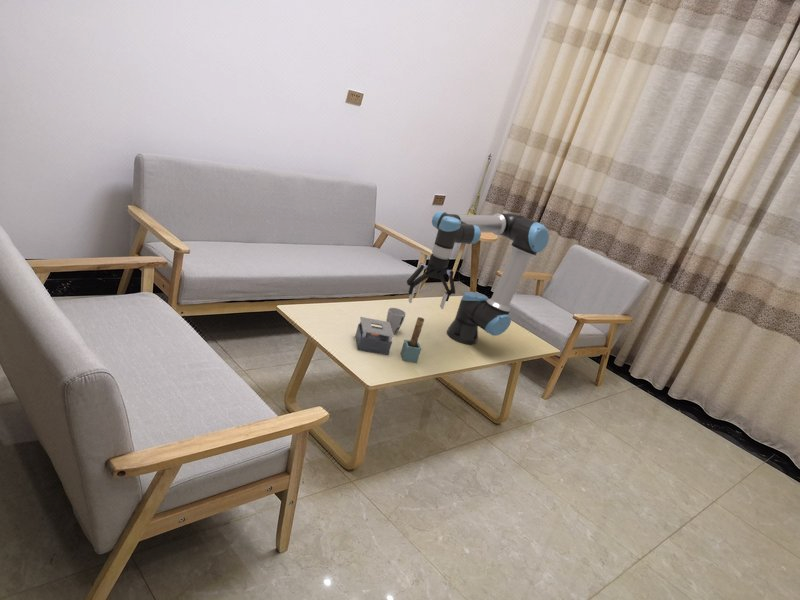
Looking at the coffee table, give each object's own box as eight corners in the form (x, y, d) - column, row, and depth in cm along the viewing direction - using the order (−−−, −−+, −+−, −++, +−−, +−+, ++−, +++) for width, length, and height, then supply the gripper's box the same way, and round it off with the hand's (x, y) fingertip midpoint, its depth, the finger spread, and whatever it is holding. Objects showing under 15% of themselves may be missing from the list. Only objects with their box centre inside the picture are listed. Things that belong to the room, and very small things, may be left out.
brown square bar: (411, 355, 229) (423, 317, 222) (412, 359, 226) (425, 320, 220) (405, 354, 228) (416, 316, 222) (406, 358, 225) (418, 319, 219)
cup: (398, 337, 244) (404, 317, 240) (381, 331, 245) (386, 311, 241) (401, 330, 251) (407, 311, 248) (385, 325, 252) (390, 306, 249)
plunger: (376, 338, 230) (378, 330, 229) (377, 342, 227) (379, 334, 225) (368, 337, 229) (370, 329, 228) (369, 341, 226) (371, 332, 225)
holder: (414, 355, 231) (418, 342, 228) (416, 362, 225) (421, 349, 223) (400, 353, 229) (404, 339, 227) (402, 360, 224) (407, 346, 221)
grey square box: (384, 340, 236) (389, 322, 233) (388, 355, 225) (394, 335, 221) (355, 335, 233) (360, 316, 230) (357, 350, 221) (363, 330, 218)
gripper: (467, 259, 218) (452, 306, 225) (408, 246, 212) (394, 295, 219) (472, 265, 211) (456, 313, 218) (412, 252, 205) (397, 302, 212)
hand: (425, 304), depth 219 cm, fingers open, 13 cm apart
